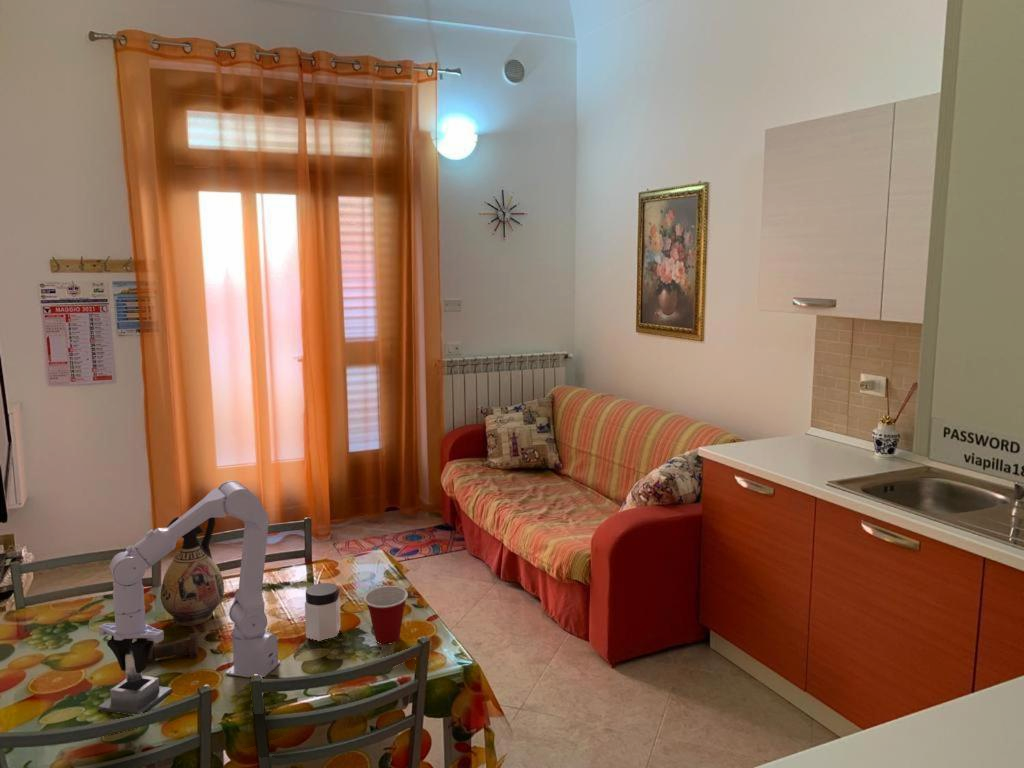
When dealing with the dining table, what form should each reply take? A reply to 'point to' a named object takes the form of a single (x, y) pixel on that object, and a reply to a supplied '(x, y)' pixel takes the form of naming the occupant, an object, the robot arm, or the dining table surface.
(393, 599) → the plastic cup
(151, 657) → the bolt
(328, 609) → the jar
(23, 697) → the dining table surface
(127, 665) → the pale grey cylinder
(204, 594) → the ceramic jug
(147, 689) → the square socket base plate
